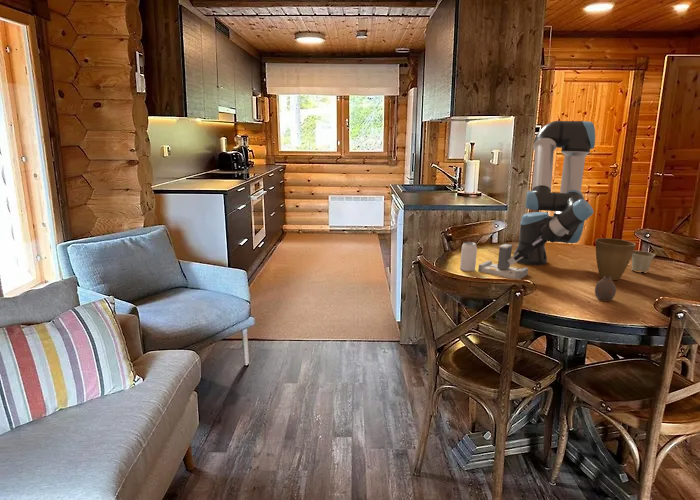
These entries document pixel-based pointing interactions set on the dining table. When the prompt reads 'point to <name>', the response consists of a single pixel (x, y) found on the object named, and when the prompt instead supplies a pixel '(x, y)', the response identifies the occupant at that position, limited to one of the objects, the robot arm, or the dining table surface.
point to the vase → (605, 289)
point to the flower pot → (641, 260)
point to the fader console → (509, 272)
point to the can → (468, 256)
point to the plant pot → (613, 256)
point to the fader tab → (504, 256)
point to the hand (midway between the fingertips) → (509, 262)
